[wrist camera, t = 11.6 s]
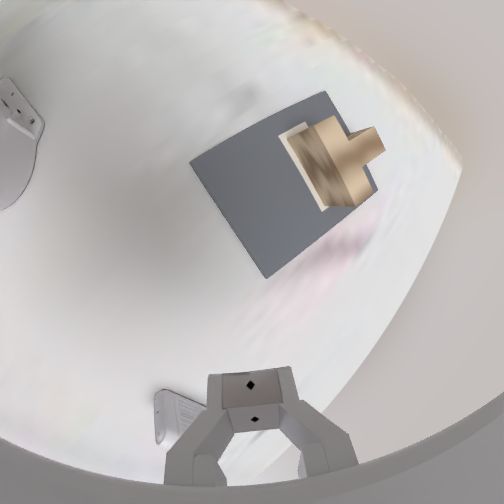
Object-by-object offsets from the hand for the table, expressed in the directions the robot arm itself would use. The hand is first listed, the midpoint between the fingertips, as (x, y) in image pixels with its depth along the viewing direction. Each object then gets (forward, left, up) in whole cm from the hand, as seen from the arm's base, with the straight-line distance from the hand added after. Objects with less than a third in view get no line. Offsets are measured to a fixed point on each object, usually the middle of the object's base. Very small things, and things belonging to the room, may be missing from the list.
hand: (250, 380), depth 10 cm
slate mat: (0, +21, -30) cm, 36 cm away
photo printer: (+20, -16, -30) cm, 39 cm away
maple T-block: (0, +27, -29) cm, 40 cm away
